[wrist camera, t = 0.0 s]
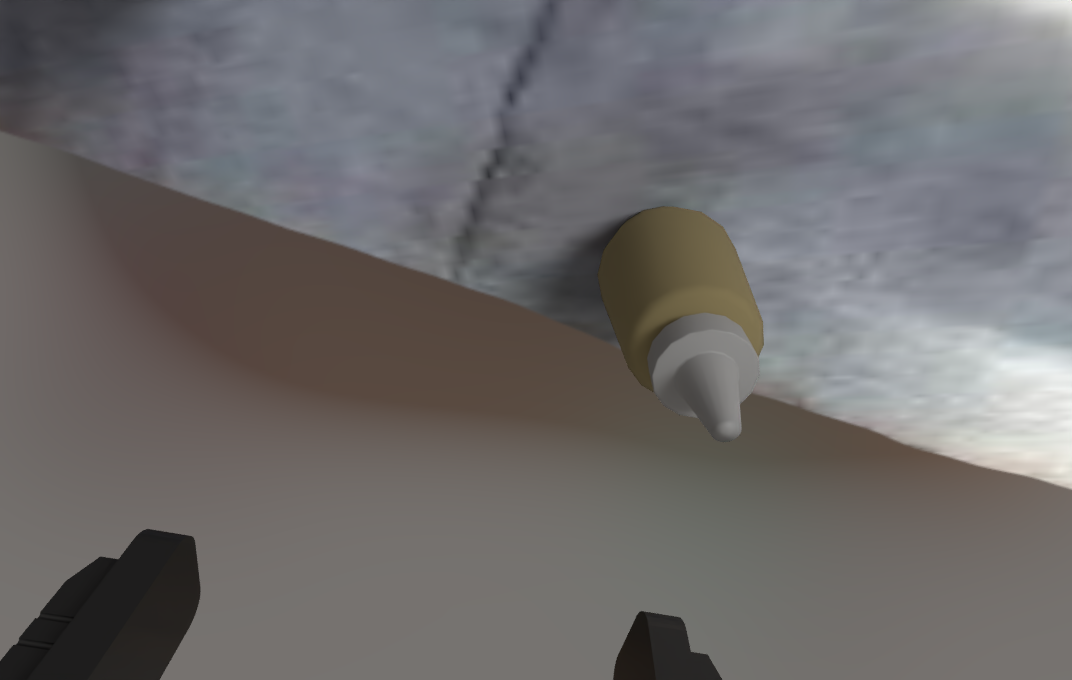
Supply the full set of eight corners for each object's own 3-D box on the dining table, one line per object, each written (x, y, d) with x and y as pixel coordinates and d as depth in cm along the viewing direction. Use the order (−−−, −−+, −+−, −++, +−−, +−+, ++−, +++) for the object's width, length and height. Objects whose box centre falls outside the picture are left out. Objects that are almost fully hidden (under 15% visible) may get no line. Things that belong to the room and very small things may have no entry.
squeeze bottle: (568, 251, 39) (575, 429, 23) (665, 159, 36) (749, 294, 20) (651, 328, 41) (707, 535, 26) (748, 249, 38) (879, 430, 23)
